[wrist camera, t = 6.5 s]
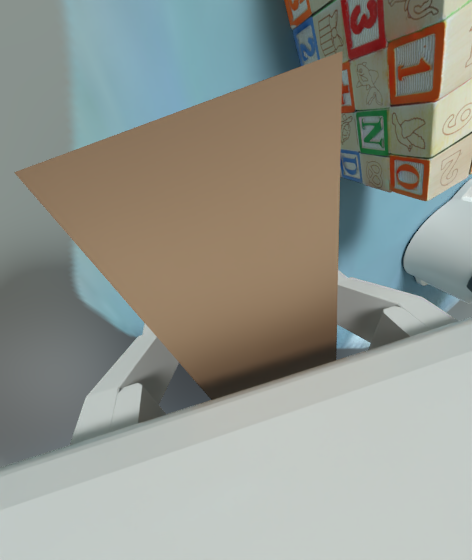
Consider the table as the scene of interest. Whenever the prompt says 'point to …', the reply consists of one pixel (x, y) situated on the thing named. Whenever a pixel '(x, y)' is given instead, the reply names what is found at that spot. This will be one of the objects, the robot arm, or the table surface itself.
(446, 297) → the table surface
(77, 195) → the walnut block
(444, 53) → the stack of blocks
